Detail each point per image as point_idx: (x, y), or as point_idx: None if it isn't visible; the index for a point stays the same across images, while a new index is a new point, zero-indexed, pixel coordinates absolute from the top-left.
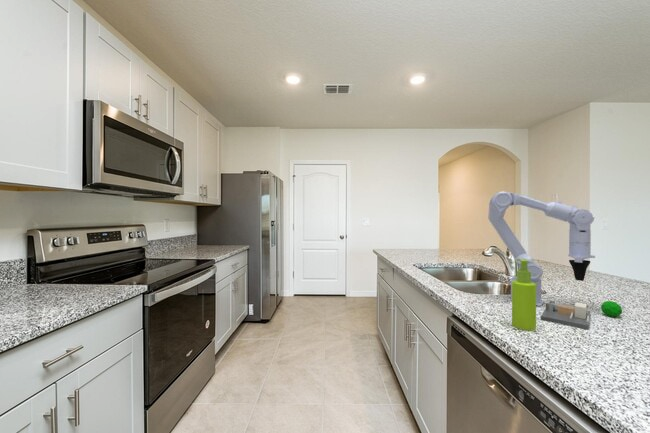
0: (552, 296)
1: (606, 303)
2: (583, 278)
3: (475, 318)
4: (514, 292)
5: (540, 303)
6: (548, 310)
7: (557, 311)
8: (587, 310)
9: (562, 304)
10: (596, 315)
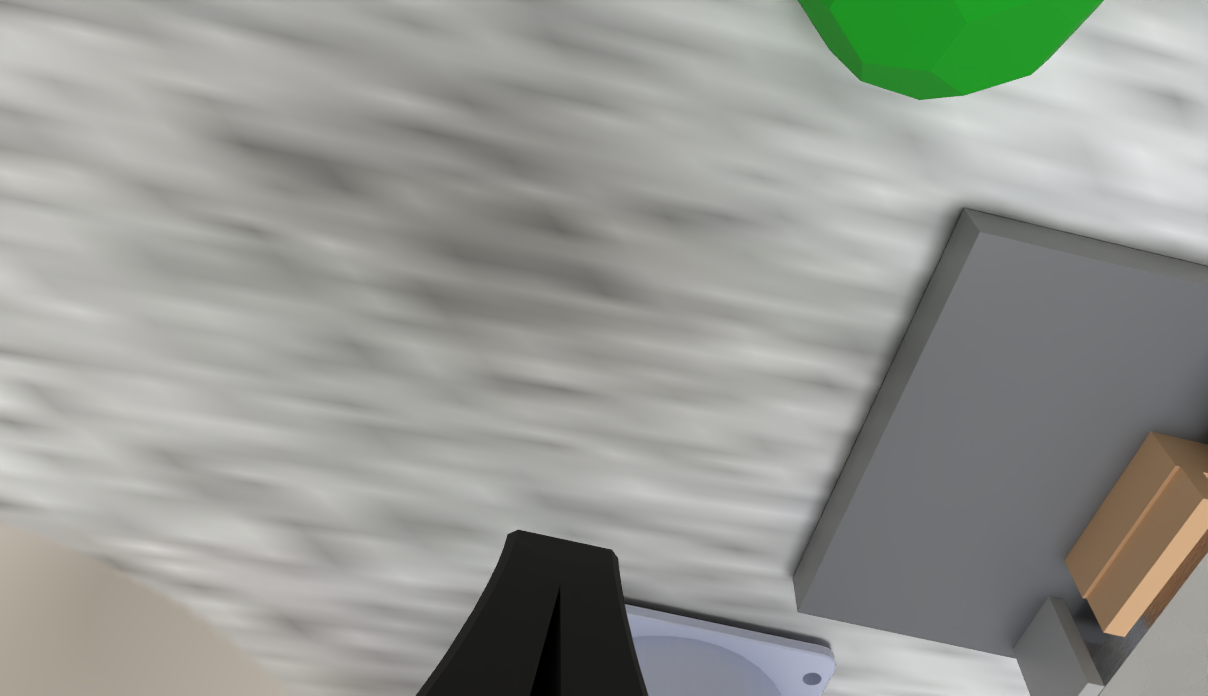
0: (116, 452)
1: (1018, 49)
2: (620, 602)
3: None
4: None
5: (751, 651)
6: None
7: None
8: (972, 263)
9: (1172, 615)
10: (980, 135)
